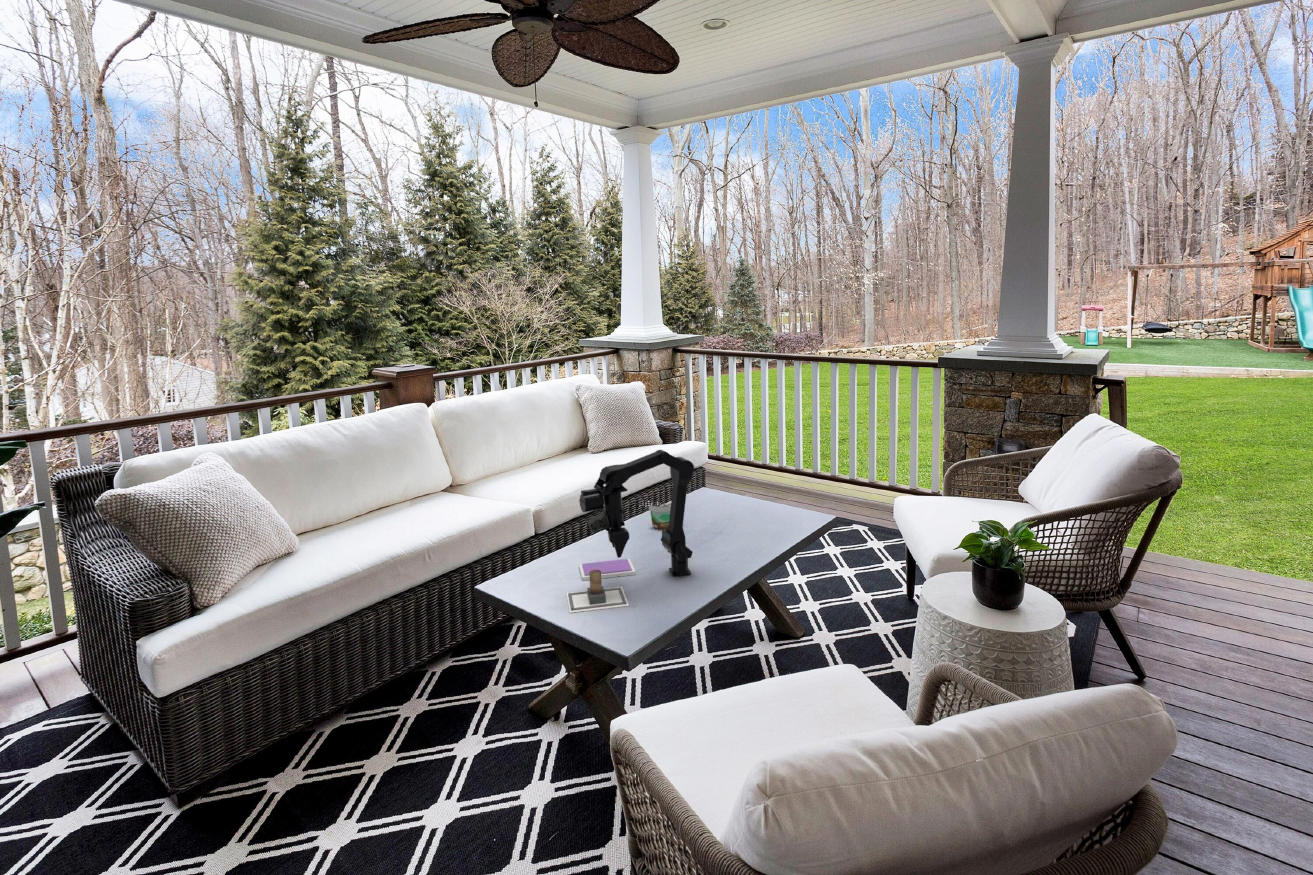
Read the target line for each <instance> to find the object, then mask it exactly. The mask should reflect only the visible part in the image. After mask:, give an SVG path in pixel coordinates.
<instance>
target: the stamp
mask: <svg viewBox="0 0 1313 875" xmlns="http://www.w3.org/2000/svg"><path fill="white" fill-rule="evenodd" d="M589 575H590V580H589V587H587V589H586V591H587V594H588V599H589V603H590V605H592V604H600V603H606V595H605V591H604V589H605V587H604V586H603V585H602V584H603V583H602V582H603V581H602V579H601V571H600V570H591V571H590V572H589Z"/></svg>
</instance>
